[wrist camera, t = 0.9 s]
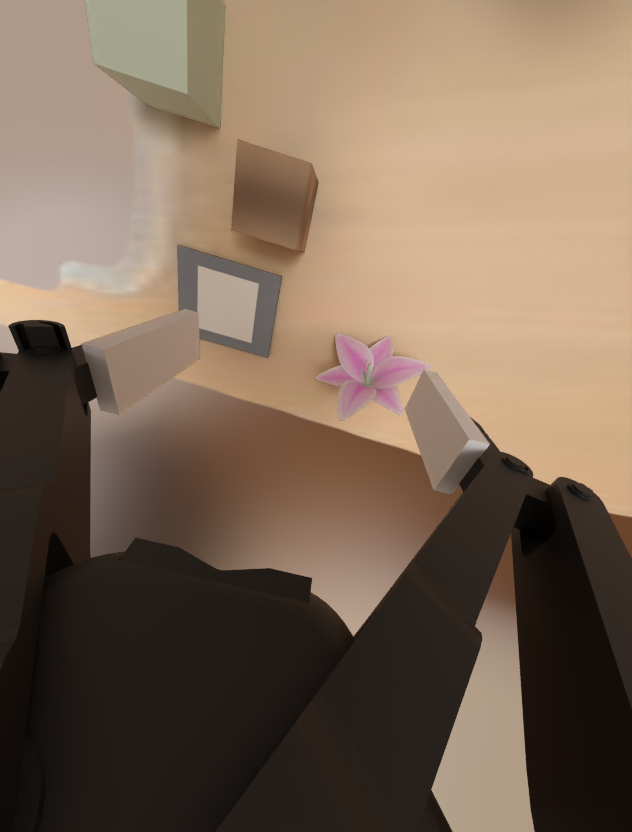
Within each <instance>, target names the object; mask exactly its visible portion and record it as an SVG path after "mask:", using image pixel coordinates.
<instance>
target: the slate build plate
mask: <svg viewBox="0 0 632 832" xmlns="http://www.w3.org/2000/svg"><path fill="white" fill-rule="evenodd" d="M177 249H178V291H179V311H181V310H184V309H187V310H191V311H195V312H199V339H203V340H206V341H210V342H213V343H217V344H220V345H224V346H227V347H231V348H234V349H238V350H241V351H245V352H248V353H252V354H255V355H259V356H262V357H266V358H268V357H269V351H270V345H271V339H272V334H273V328H274V322H275V316H276V310H277V304H278V298H279V292H280V286H281V280H282V276H279V275H276V274H273V273H269V272H266V271H263V270H259V269H256V268H253V267H250V266H246V265H243V264H240V263H236V262H233V261H230V260H226V259H223V258H220V257H217V256H213V255H210V254H207V253H203V252H200V251H197V250H193V249H190V248H187V247H183V246H180V245H177Z"/></svg>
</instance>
